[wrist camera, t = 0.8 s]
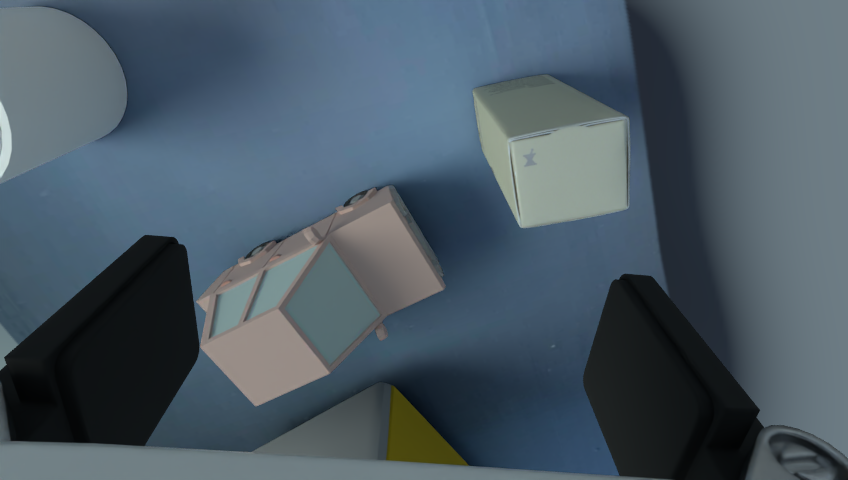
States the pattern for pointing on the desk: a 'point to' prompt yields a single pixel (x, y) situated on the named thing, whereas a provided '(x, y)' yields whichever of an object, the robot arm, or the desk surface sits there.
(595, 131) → the box
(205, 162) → the desk surface
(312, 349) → the toy car
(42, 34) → the cup
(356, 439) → the alarm clock
